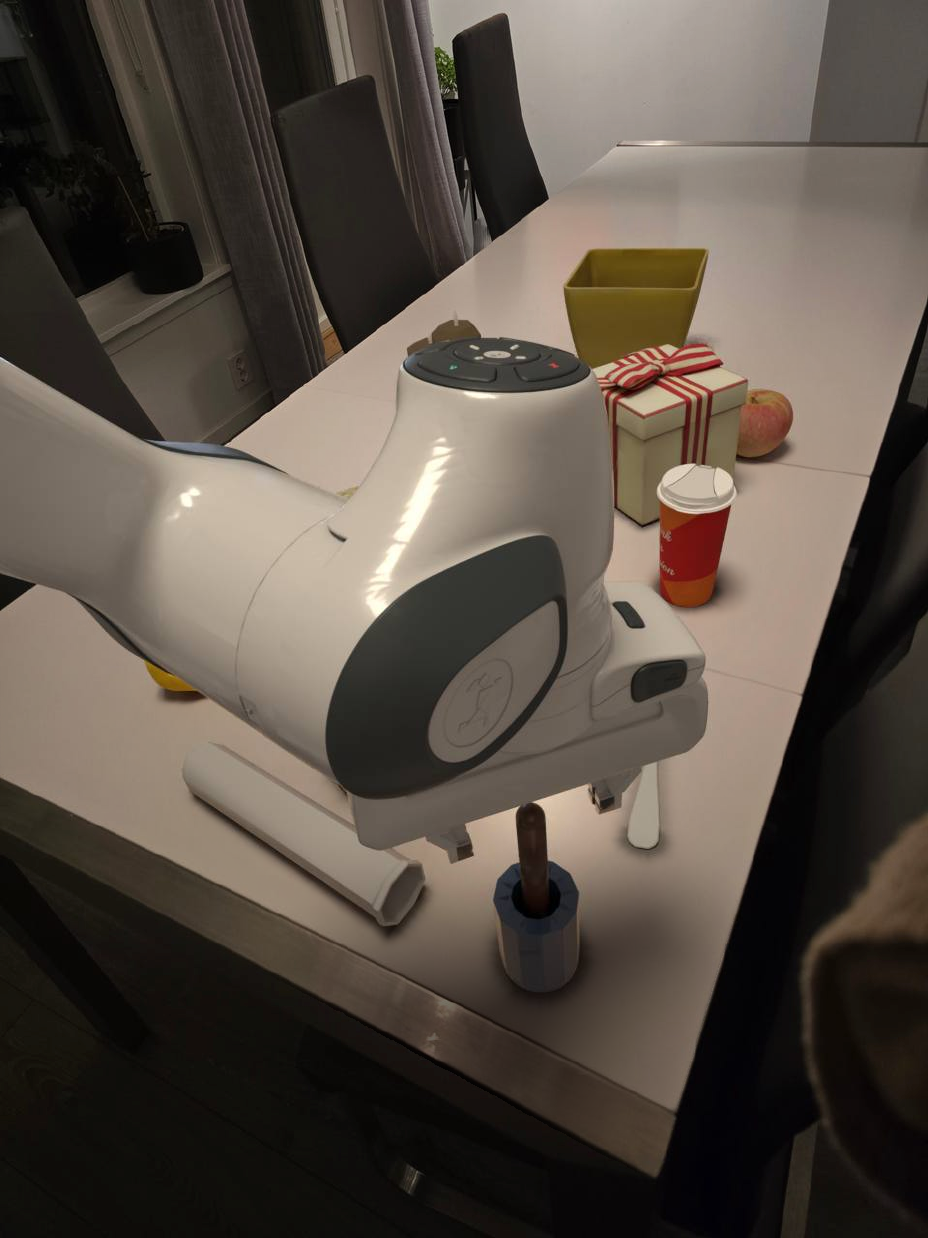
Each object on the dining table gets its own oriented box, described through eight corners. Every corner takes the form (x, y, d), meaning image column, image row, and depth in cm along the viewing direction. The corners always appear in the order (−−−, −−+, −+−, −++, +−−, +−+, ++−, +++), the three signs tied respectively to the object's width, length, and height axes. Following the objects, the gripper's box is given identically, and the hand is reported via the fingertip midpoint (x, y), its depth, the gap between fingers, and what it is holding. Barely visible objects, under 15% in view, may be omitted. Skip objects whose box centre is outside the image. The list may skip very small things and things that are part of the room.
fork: (623, 859, 67) (623, 843, 65) (647, 667, 80) (648, 649, 78) (658, 865, 66) (659, 849, 64) (676, 670, 79) (678, 652, 77)
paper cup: (662, 563, 93) (671, 455, 83) (730, 578, 89) (747, 468, 80) (639, 604, 88) (646, 493, 78) (710, 621, 84) (726, 508, 75)
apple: (796, 445, 109) (807, 390, 104) (764, 473, 105) (774, 417, 100) (738, 429, 114) (745, 375, 109) (704, 455, 110) (711, 400, 105)
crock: (517, 1004, 56) (510, 947, 51) (491, 933, 60) (483, 874, 55) (591, 977, 57) (592, 919, 52) (560, 909, 61) (558, 848, 56)
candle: (511, 407, 126) (505, 311, 117) (426, 424, 125) (413, 328, 115) (489, 374, 137) (482, 283, 127) (411, 389, 135) (398, 298, 125)
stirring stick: (532, 966, 58) (520, 825, 47) (523, 943, 59) (510, 801, 48) (555, 957, 58) (549, 815, 47) (546, 935, 59) (538, 792, 48)
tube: (158, 772, 70) (369, 917, 58) (197, 722, 72) (410, 852, 60) (191, 795, 75) (395, 935, 62) (228, 747, 76) (433, 873, 64)
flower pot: (588, 347, 141) (588, 246, 130) (699, 351, 136) (709, 246, 125) (563, 395, 128) (561, 287, 117) (686, 402, 122) (696, 289, 111)
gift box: (642, 436, 115) (649, 316, 104) (741, 487, 103) (760, 357, 92) (547, 477, 109) (543, 354, 98) (639, 537, 97) (647, 404, 86)
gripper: (325, 773, 36) (378, 929, 45) (737, 648, 39) (709, 816, 48) (304, 679, 40) (356, 838, 49) (673, 575, 44) (658, 741, 53)
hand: (532, 826), depth 49 cm, fingers open, 8 cm apart
